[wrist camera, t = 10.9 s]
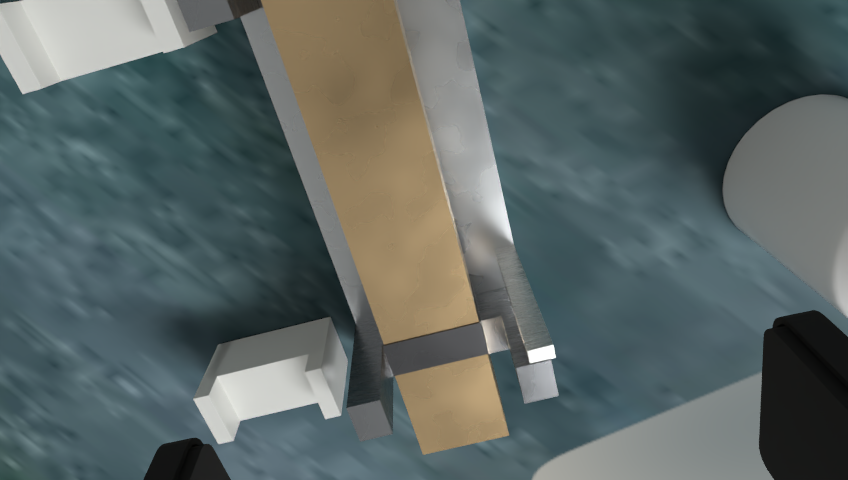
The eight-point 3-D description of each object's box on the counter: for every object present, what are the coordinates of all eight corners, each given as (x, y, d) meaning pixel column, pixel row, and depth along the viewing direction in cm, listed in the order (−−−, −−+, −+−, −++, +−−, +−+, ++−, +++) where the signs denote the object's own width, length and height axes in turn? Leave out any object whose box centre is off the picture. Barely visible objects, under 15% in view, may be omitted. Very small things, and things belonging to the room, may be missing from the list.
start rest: (43, 0, 25) (-25, 10, 21) (187, -43, 24) (146, -42, 20) (239, 386, 34) (218, 444, 30) (347, 360, 33) (341, 415, 29)
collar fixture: (212, -66, 24) (118, -73, 16) (429, -132, 23) (446, -175, 15) (372, 361, 33) (364, 493, 25) (530, 324, 33) (573, 446, 25)
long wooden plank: (250, -100, 21) (219, -111, 17) (362, -135, 21) (354, -153, 17) (419, 395, 31) (422, 455, 27) (496, 377, 31) (510, 436, 27)
